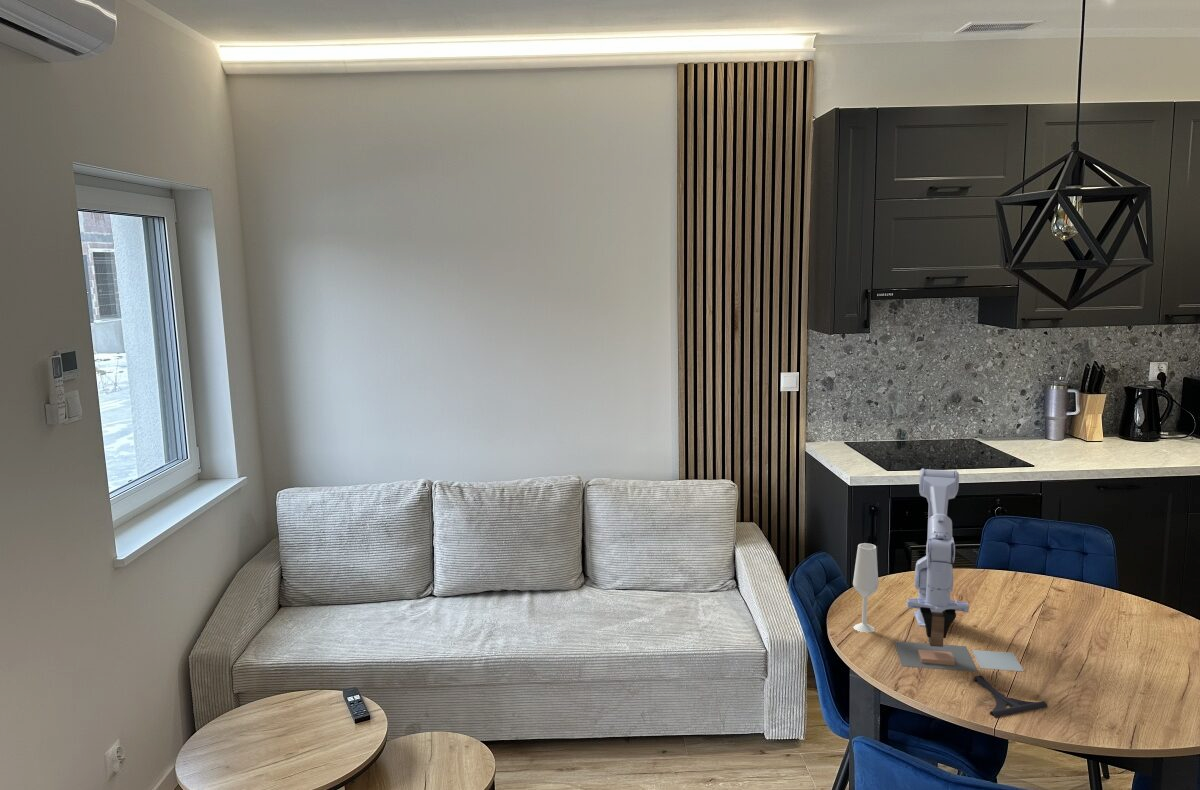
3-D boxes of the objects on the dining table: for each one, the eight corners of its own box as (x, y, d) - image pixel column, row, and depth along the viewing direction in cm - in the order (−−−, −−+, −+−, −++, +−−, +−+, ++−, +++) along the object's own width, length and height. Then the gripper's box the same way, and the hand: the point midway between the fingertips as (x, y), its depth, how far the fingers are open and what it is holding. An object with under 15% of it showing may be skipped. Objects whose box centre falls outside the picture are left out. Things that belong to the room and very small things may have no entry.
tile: (918, 649, 221) (921, 658, 216) (951, 651, 220) (955, 661, 215) (917, 653, 221) (921, 663, 217) (950, 656, 220) (954, 665, 215)
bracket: (999, 679, 210) (1000, 668, 210) (1047, 709, 196) (1047, 698, 196) (950, 689, 206) (950, 678, 206) (994, 720, 192) (995, 709, 192)
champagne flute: (872, 624, 240) (876, 542, 236) (879, 634, 234) (883, 550, 230) (848, 624, 240) (851, 542, 236) (854, 634, 234) (857, 550, 230)
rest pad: (971, 651, 223) (971, 649, 223) (1012, 654, 221) (1013, 652, 221) (980, 669, 214) (980, 668, 214) (1023, 672, 212) (1024, 671, 212)
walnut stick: (928, 640, 221) (929, 611, 220) (940, 641, 220) (942, 612, 219) (930, 646, 218) (932, 616, 217) (943, 647, 217) (944, 617, 216)
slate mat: (894, 642, 229) (894, 641, 229) (965, 647, 225) (965, 646, 225) (901, 667, 215) (901, 665, 215) (978, 673, 212) (978, 671, 212)
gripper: (910, 589, 214) (908, 641, 216) (972, 593, 211) (969, 645, 214) (906, 579, 221) (904, 628, 223) (966, 582, 218) (963, 632, 220)
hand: (935, 636), depth 219 cm, fingers closed on walnut stick, 3 cm apart
